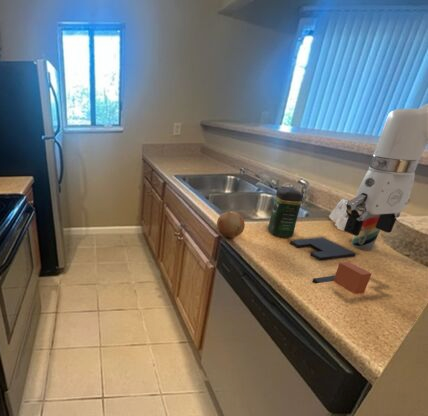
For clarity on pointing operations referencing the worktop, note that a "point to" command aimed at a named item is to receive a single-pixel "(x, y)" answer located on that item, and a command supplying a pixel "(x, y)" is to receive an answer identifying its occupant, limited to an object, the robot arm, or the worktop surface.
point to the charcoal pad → (323, 248)
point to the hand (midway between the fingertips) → (366, 231)
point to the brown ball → (230, 224)
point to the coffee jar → (285, 212)
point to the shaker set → (340, 215)
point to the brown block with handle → (348, 277)
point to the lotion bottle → (367, 233)
